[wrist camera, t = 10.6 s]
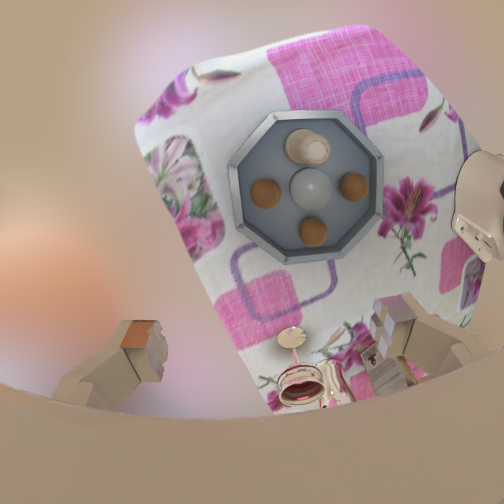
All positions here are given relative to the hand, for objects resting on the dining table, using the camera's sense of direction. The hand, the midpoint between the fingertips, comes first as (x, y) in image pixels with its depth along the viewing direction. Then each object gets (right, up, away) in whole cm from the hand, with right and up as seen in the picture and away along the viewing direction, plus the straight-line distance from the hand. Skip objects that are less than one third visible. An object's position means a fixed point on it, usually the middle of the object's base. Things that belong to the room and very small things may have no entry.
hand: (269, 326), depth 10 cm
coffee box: (+25, -18, +39) cm, 50 cm away
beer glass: (+14, -20, +40) cm, 47 cm away
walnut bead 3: (+12, +11, +23) cm, 29 cm away
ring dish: (+6, +11, +24) cm, 28 cm away
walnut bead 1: (+1, +10, +24) cm, 26 cm away
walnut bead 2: (+7, +6, +26) cm, 27 cm away
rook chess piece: (+5, +16, +22) cm, 27 cm away
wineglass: (+6, -12, +36) cm, 38 cm away
